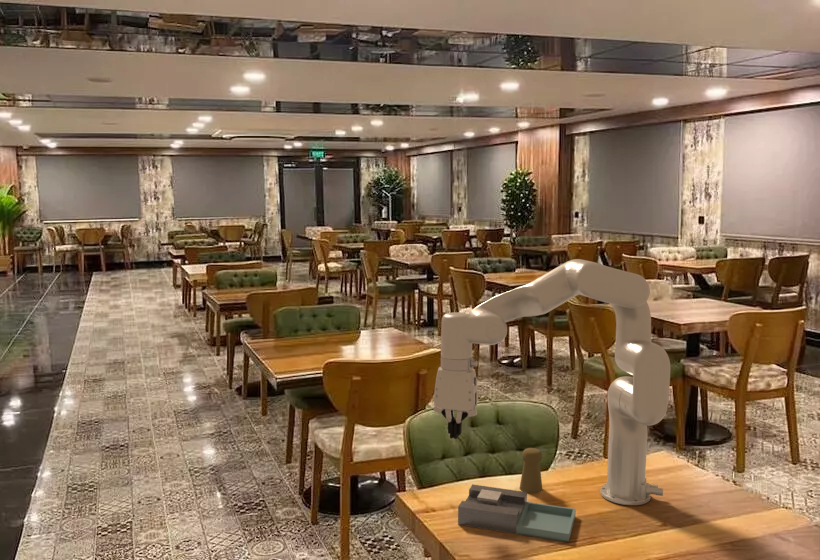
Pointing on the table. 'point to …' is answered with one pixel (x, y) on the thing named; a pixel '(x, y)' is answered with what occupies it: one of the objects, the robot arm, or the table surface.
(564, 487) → the table surface
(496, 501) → the tan square block
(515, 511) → the slotted ledge
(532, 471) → the brown pepper mill
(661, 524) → the table surface
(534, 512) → the tray
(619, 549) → the table surface
